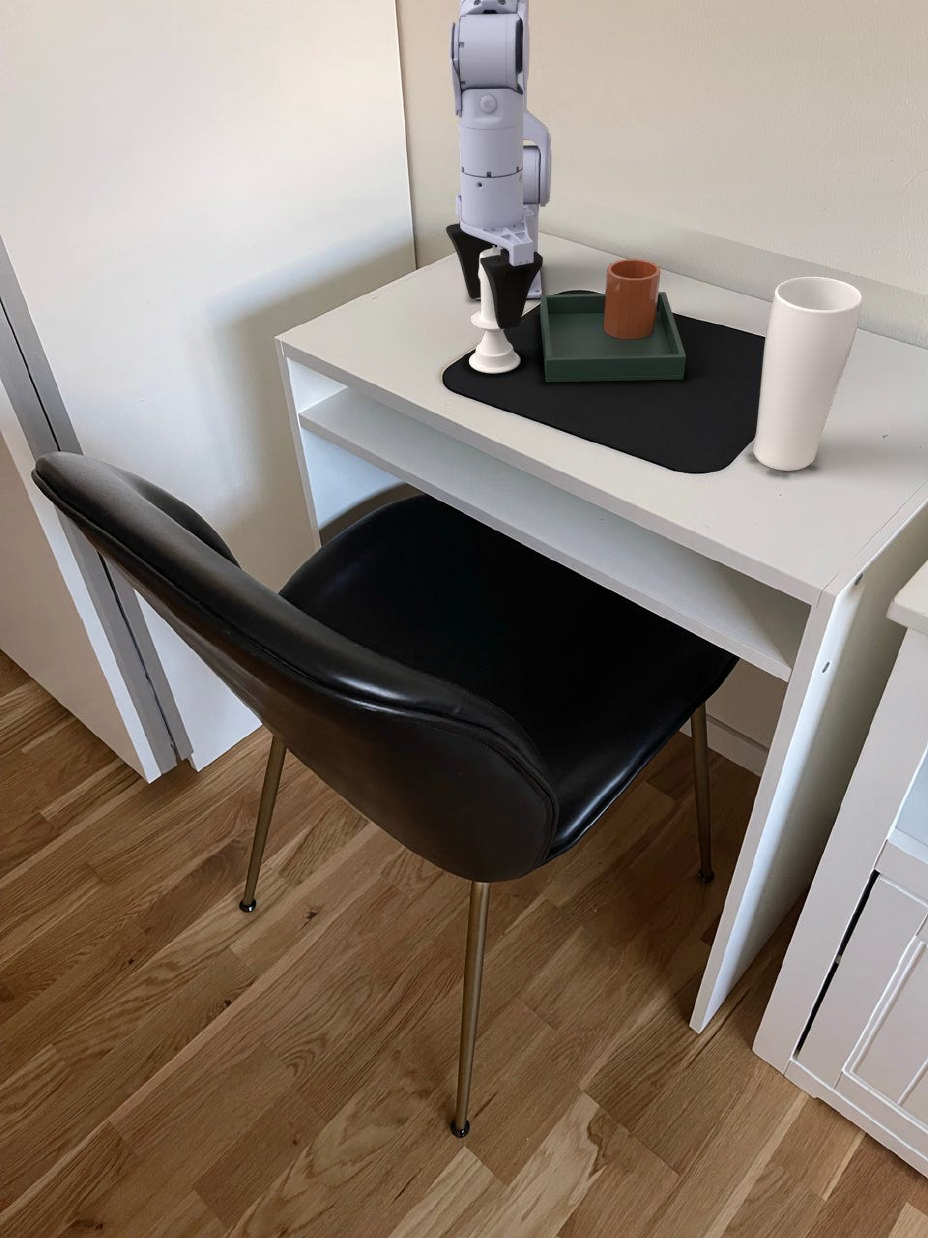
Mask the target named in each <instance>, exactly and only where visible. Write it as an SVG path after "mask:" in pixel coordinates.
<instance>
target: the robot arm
mask: <svg viewBox="0 0 928 1238" xmlns="http://www.w3.org/2000/svg"><path fill="white" fill-rule="evenodd" d="M529 4H530V0H459V10H458V21H457V22H455V21H452V22H451V25H450V31H449V39H448V41H449V44H448V54H449V55H448V57H449V59H448V60H449V72H450V79H451V83H452V89H453V97H454V110H455V116H457V117H458V137H459V138H458V143H459V187H460V194H456V195H455V196H454V197H455V215H456V216H457V217H458V218H459V221H458V223H452V224H449V225H447V226H446V227H445V232H446V234H447V236H448V238H449V239H450V241H451V243H452V245H453V247H454V250H455V252H456V255H457V258H458V261H459V264H460V267H461V270H462V275H463V279H464V283H465V288H466V291H467V293H468V297H469V298H470V299H471V300H481V281H480V279H479V276H478V272H479V259H480V263H481V265H482V267H483V269H484V271H485V273H486V275H487V278H488V280H489V284H490V287H491V291H492V296H493V304H494V311H495V318H496V322H497V325H498V327H499V328H500V329H504V330H505V329H510V328H516V327H519V326H520V325H521V321H522V319H523V318H522V317H523V314H524V310H525V306H526V302H527V300H528V299H541V295H543V290H542V289H543V288H542V278H541V268H542V267H543V264H544V256H543V255H541V254H540V253H539V216H540V215H539V214H540V208H545V207H546V206H547V204H548V203H549V202H551V189H552V148H551V147H552V134H551V133H550V132H549V128H548V127H547V125H546V124H545V123H544V122H543V121H541V120H540V119H538V117H536V116H535V115H534V114H533V113H532V112H531V111H529V110H528V109H527V108H528V81H529V75H530V53H531V52H530V51H531V50H530V46H531V45H530V43H531V42H530V41H531V40H530V39H531V38H530V37H531V36H530V24H529V16H530V15H529V13H530V11H529V10H530V8H529V7H530V5H529ZM524 141H531V142H533V143H534V144H533V145H531V144H530V145H524ZM493 245H494V246H495V247H496V248H498V249H500V255H494V256H489V257H484V258H480V254H481V252H483V251H485V250H488V249H491V248H493Z"/></svg>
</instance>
